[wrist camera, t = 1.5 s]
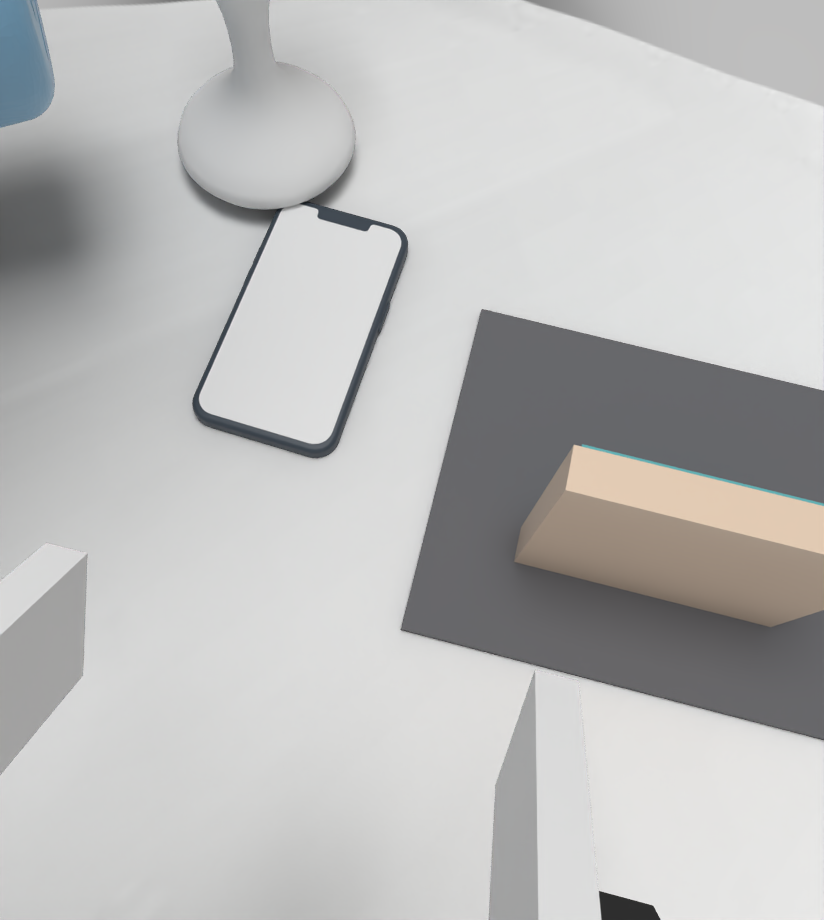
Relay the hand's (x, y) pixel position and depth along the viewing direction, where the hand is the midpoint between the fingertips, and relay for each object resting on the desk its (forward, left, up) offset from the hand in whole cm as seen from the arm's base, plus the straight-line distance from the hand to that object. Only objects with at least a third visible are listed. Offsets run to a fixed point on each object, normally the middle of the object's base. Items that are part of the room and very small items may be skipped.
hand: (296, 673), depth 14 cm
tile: (-3, +17, -26) cm, 32 cm away
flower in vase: (-37, +4, -27) cm, 46 cm away
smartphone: (-23, +3, -27) cm, 36 cm away
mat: (-7, +19, -27) cm, 33 cm away
